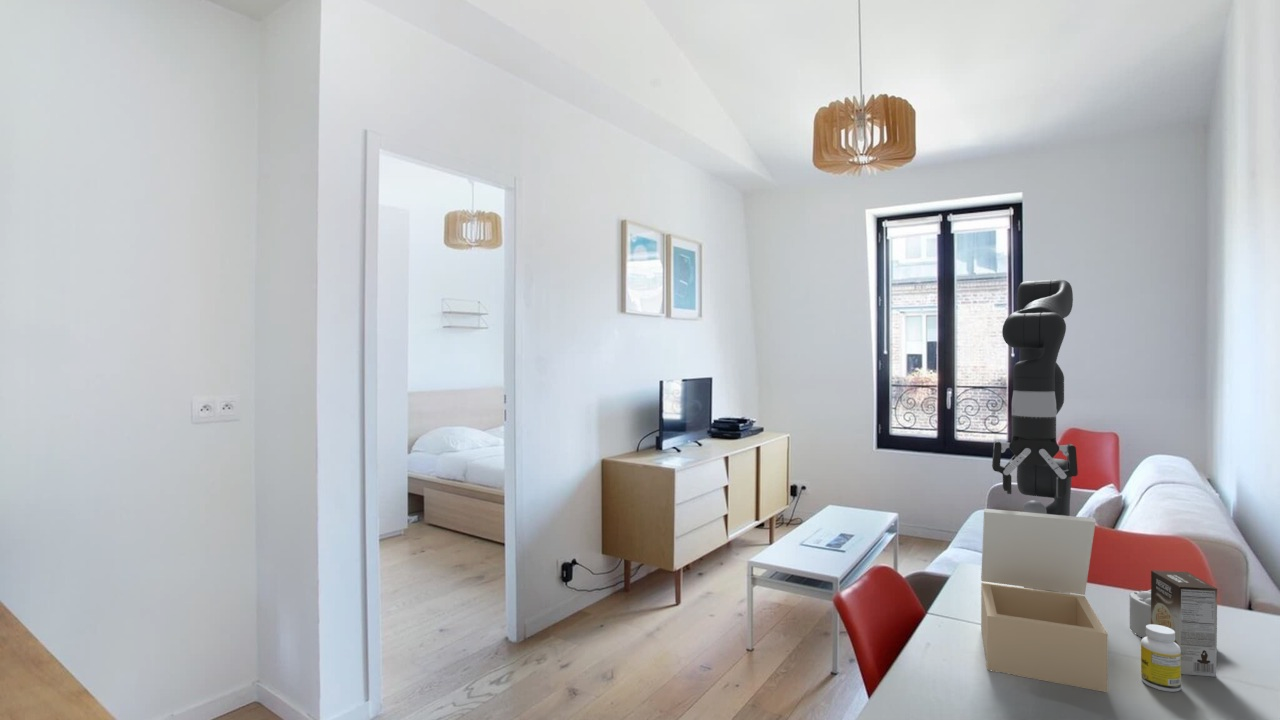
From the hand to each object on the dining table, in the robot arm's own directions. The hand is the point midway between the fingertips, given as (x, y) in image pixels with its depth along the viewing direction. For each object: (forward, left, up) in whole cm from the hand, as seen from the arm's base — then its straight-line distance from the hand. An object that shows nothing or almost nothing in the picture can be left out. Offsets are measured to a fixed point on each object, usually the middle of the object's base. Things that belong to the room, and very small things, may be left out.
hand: (1033, 495), depth 126 cm
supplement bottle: (+8, +18, -30) cm, 36 cm away
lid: (+1, 0, -11) cm, 11 cm away
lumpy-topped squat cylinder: (-16, +25, -30) cm, 42 cm away
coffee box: (-3, +24, -30) cm, 38 cm away
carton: (+6, 0, -30) cm, 30 cm away
